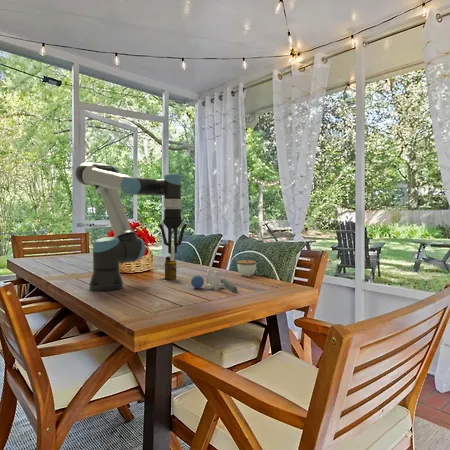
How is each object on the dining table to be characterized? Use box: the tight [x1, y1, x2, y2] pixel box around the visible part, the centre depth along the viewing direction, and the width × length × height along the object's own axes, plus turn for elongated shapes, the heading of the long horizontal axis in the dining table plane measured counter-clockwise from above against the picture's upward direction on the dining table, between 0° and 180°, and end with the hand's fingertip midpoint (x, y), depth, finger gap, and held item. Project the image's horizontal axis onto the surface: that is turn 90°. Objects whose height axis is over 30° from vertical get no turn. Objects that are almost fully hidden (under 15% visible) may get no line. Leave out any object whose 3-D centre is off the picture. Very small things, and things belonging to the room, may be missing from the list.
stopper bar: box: [220, 278, 238, 294], centre depth 178 cm, size 2×20×2 cm, turn 16°
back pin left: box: [206, 269, 213, 284], centre depth 178 cm, size 2×2×8 cm
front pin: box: [204, 282, 225, 290], centre depth 176 cm, size 2×2×8 cm
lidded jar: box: [237, 258, 257, 277], centre depth 211 cm, size 11×11×9 cm
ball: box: [190, 275, 205, 289], centre depth 177 cm, size 6×6×6 cm
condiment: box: [159, 255, 180, 282], centre depth 197 cm, size 7×8×12 cm
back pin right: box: [213, 270, 220, 291], centre depth 174 cm, size 2×2×8 cm
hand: (172, 260), depth 170 cm, fingers closed
